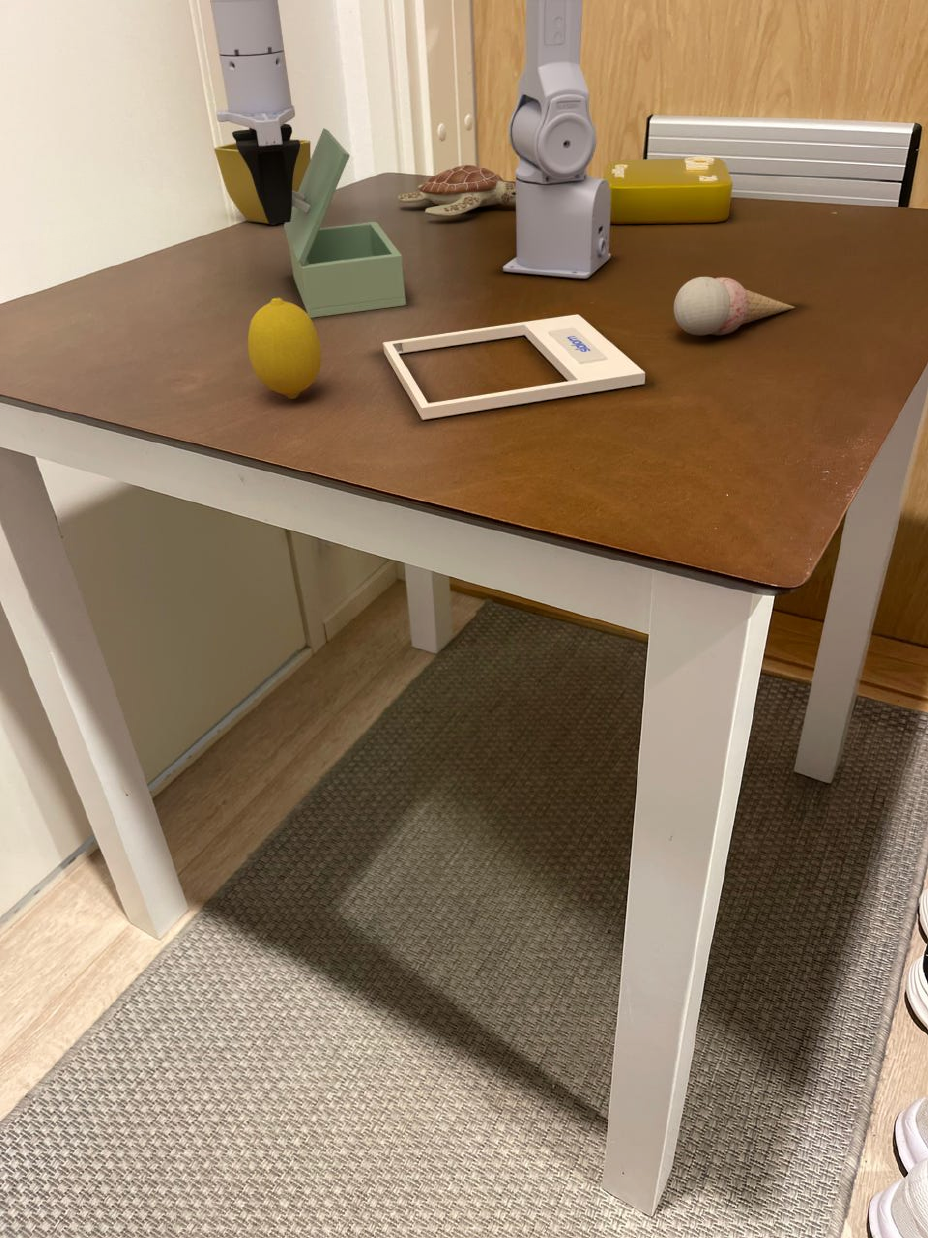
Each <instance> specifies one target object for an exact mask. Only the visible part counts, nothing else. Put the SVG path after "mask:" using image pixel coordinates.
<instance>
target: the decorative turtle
mask: <svg viewBox="0 0 928 1238" xmlns="http://www.w3.org/2000/svg"><path fill="white" fill-rule="evenodd" d="M417 189H418V191H411V192H406V193H401V194H399V195H398V197H397V199H398V201H399V202H401V203H407V204H412V203H418V202H422V201H431V202H432V203H434V204H435V205H436V206H431V207H427V208H425V211H424V213H425V214H426V215H429V216H436V217H454V216H458V215H462V214H464V213H467V212H469V211H472V210H474V209H477V208H480V207H489V206H496V205H504V206H512V205H516V182H515V183H514V182H509V181H506V180H505V181H504V180H503V178H502V176H500V175H499V174H497V173H495V172H494V171H492V170H490V169H488V168H485V167H479V166H476V165H470V164H464V165H459V166H455V167H453V168H449V169H447V170H445V171H442V172H440V173H438V174H436V175H433V176H431V177H430V178H429V179H427V180H426V181H425V182H424V183H422V184H419V185H418V186H417ZM437 205H438V206H437Z"/></svg>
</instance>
